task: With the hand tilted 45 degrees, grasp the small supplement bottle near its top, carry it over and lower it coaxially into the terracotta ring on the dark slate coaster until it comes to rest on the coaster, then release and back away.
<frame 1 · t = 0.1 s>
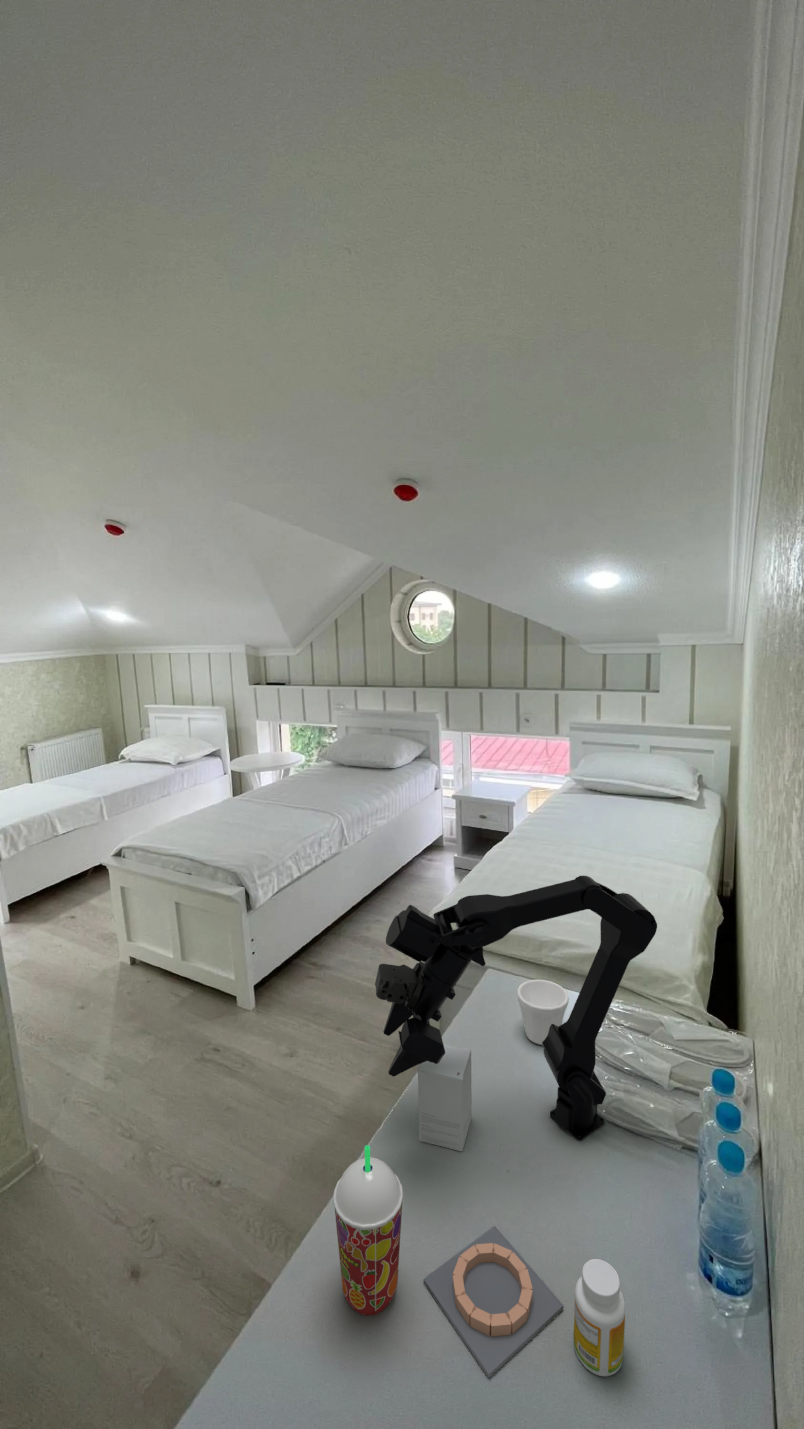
hand: (388, 1053, 96), 15 cm above the table, tool tilted 35°, fingers open, 9 cm apart
supplement bottle: (597, 1351, 69), on the table
smoothie: (370, 1292, 76), on the table
cup: (541, 1037, 122), on the table
supplement box: (445, 1130, 100), on the table
ring seat: (492, 1296, 75), on the table
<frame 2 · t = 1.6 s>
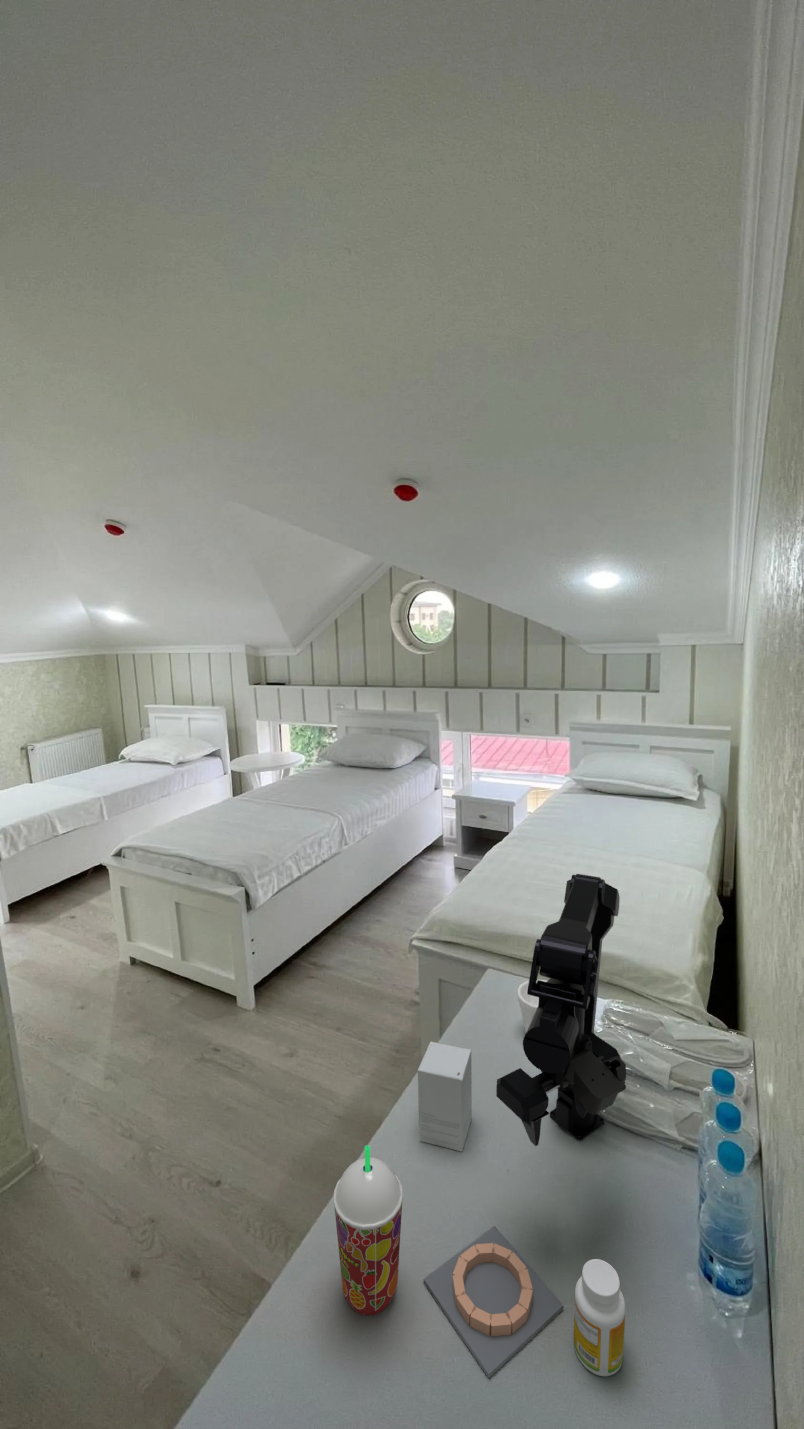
hand: (558, 1129, 85), 12 cm above the table, tool pointing down, fingers open, 9 cm apart
nothing on the table moved.
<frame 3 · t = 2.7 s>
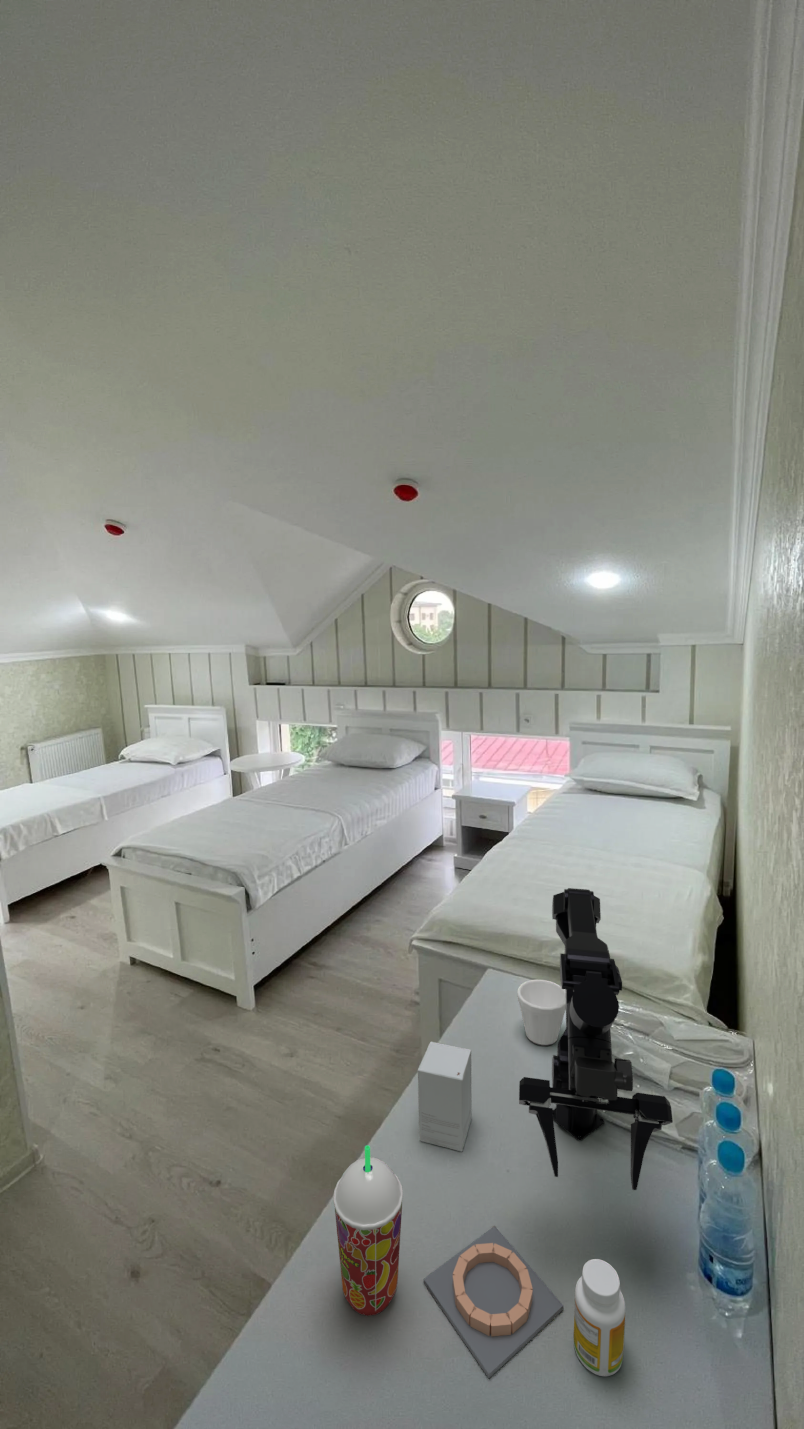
hand: (594, 1183, 75), 13 cm above the table, tool tilted 45°, fingers open, 9 cm apart
nothing on the table moved.
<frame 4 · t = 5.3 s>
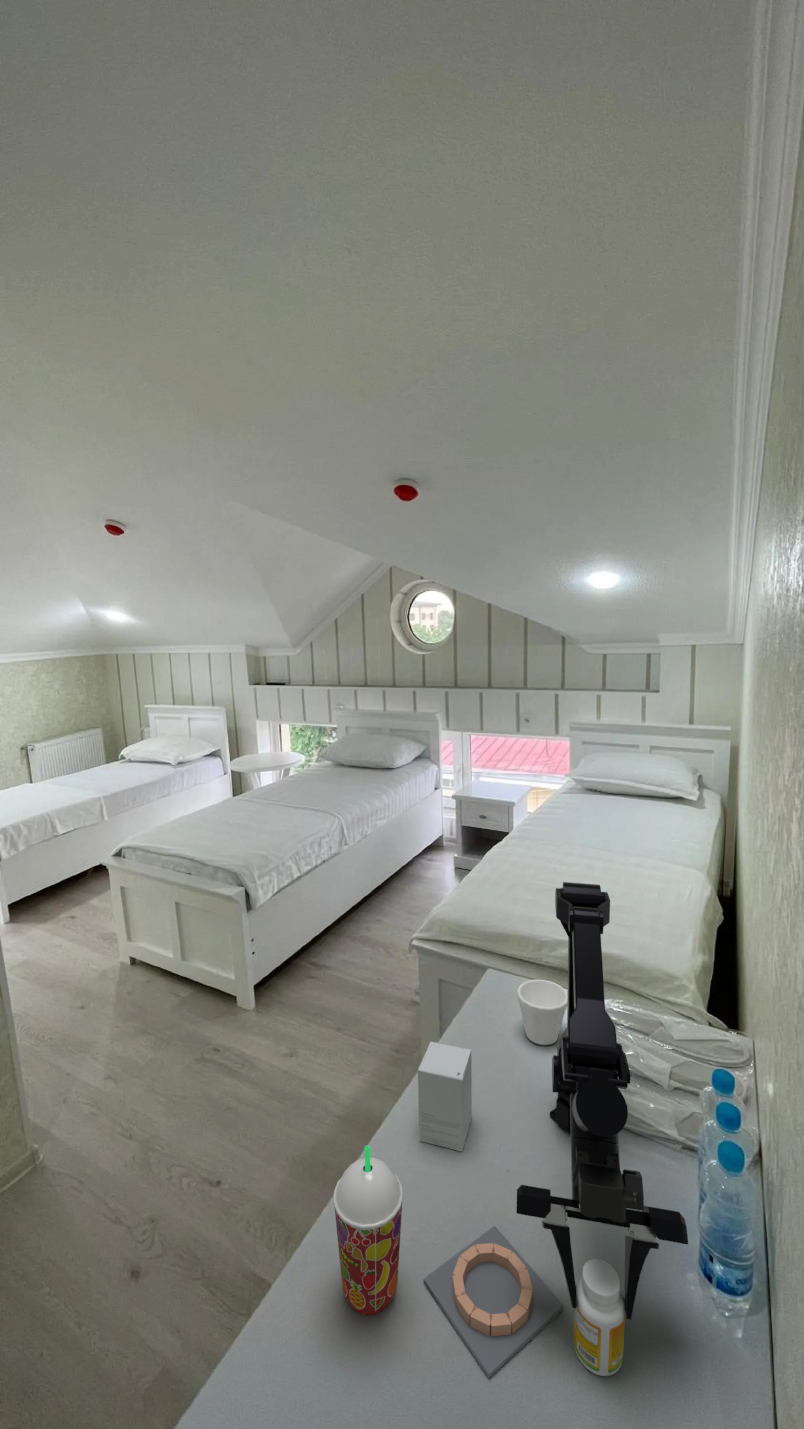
hand: (601, 1313, 67), 7 cm above the table, tool tilted 45°, fingers closed on supplement bottle, 5 cm apart
supplement bottle: (597, 1351, 69), on the table, touching gripper
everything else where it was.
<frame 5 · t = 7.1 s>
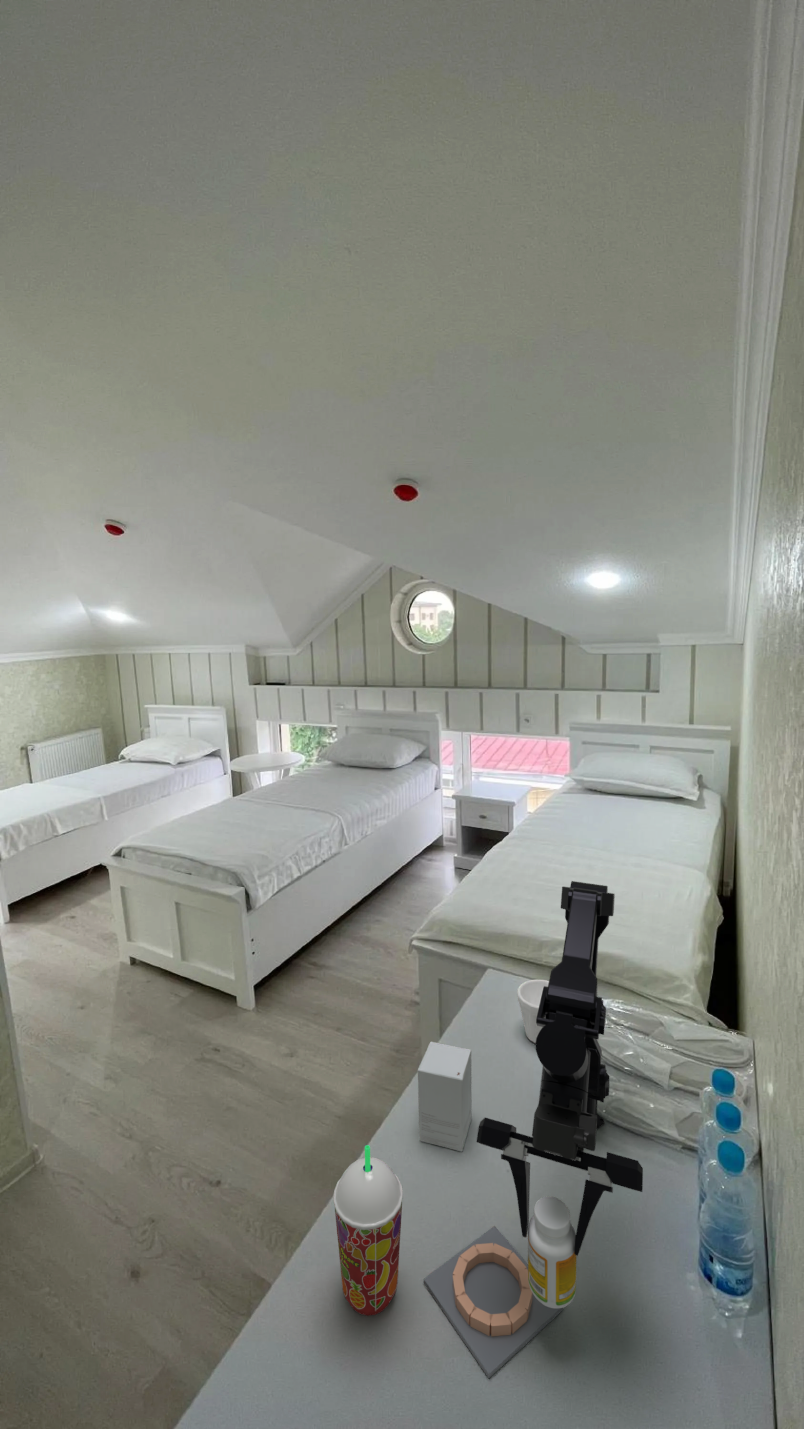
hand: (549, 1246, 68), 13 cm above the table, tool tilted 45°, fingers closed on supplement bottle, 5 cm apart
supplement bottle: (551, 1286, 71), point 6 cm above the table, touching gripper
everything else where it was.
when the fingers open (8 cm above the table, at t = 9.2 s): supplement bottle stays where it is, resting on ring seat.
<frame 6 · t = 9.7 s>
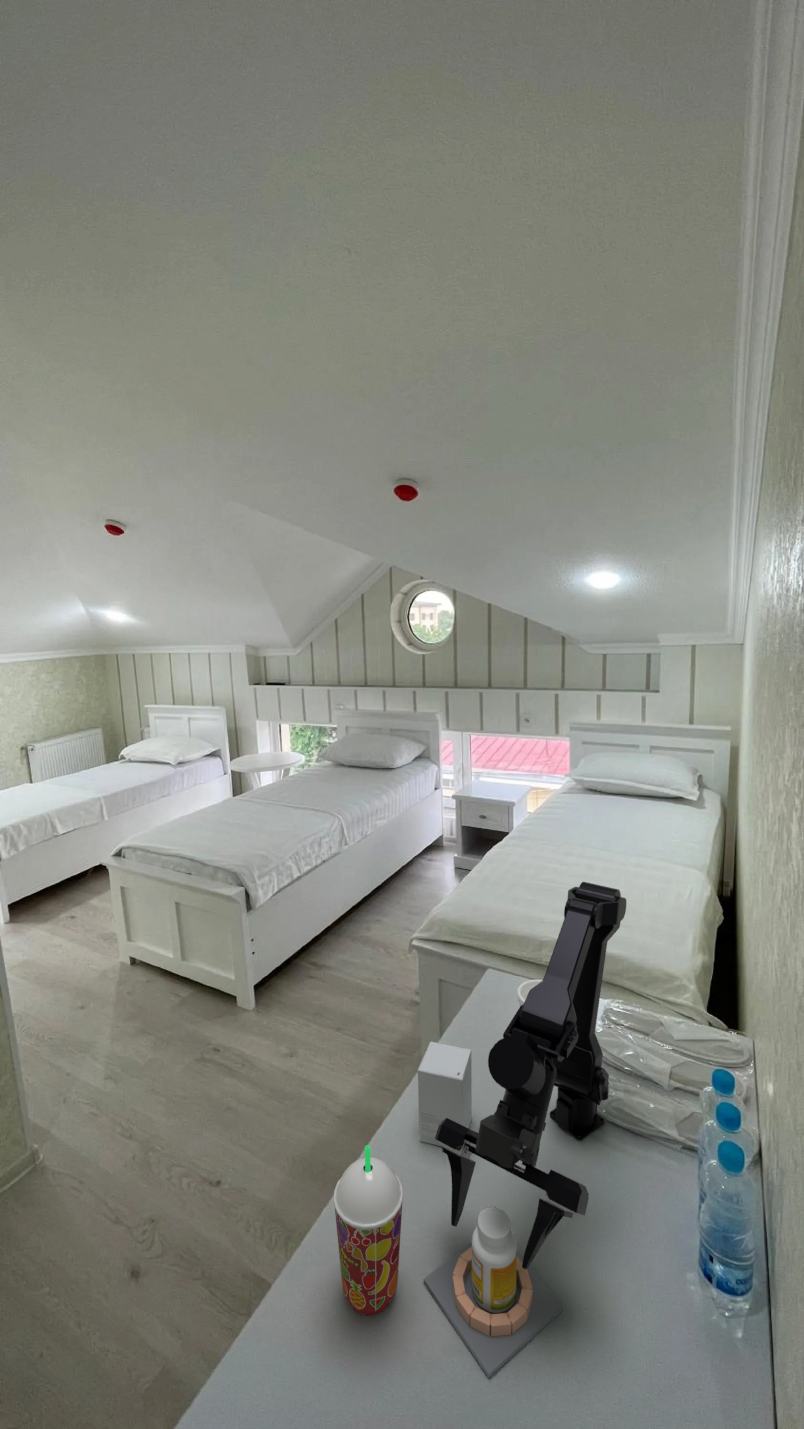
hand: (487, 1246, 73), 8 cm above the table, tool tilted 45°, fingers open, 9 cm apart
supplement bottle: (493, 1292, 75), resting on ring seat
everything else where it was.
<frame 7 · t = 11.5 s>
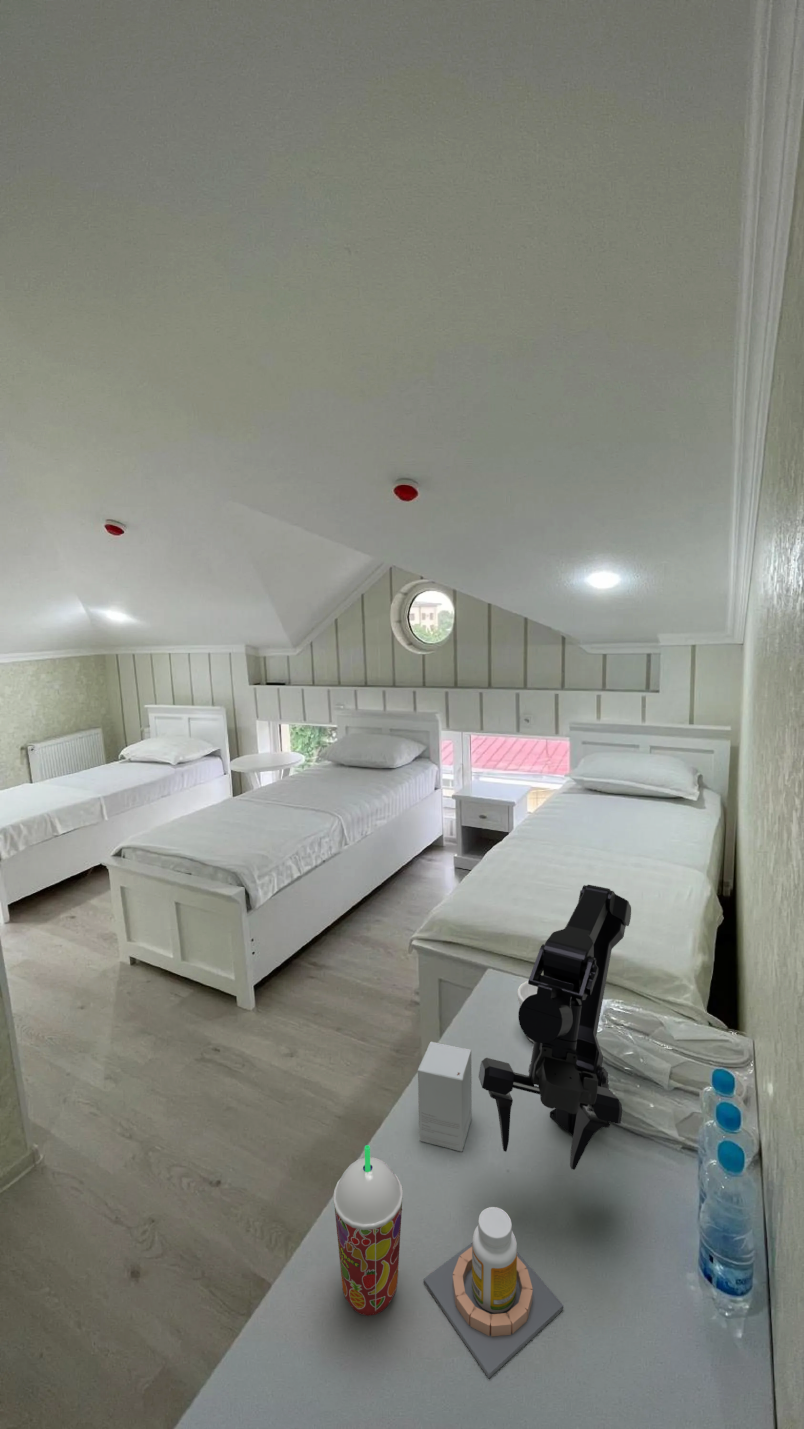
hand: (538, 1159, 82), 10 cm above the table, tool tilted 25°, fingers open, 9 cm apart
nothing on the table moved.
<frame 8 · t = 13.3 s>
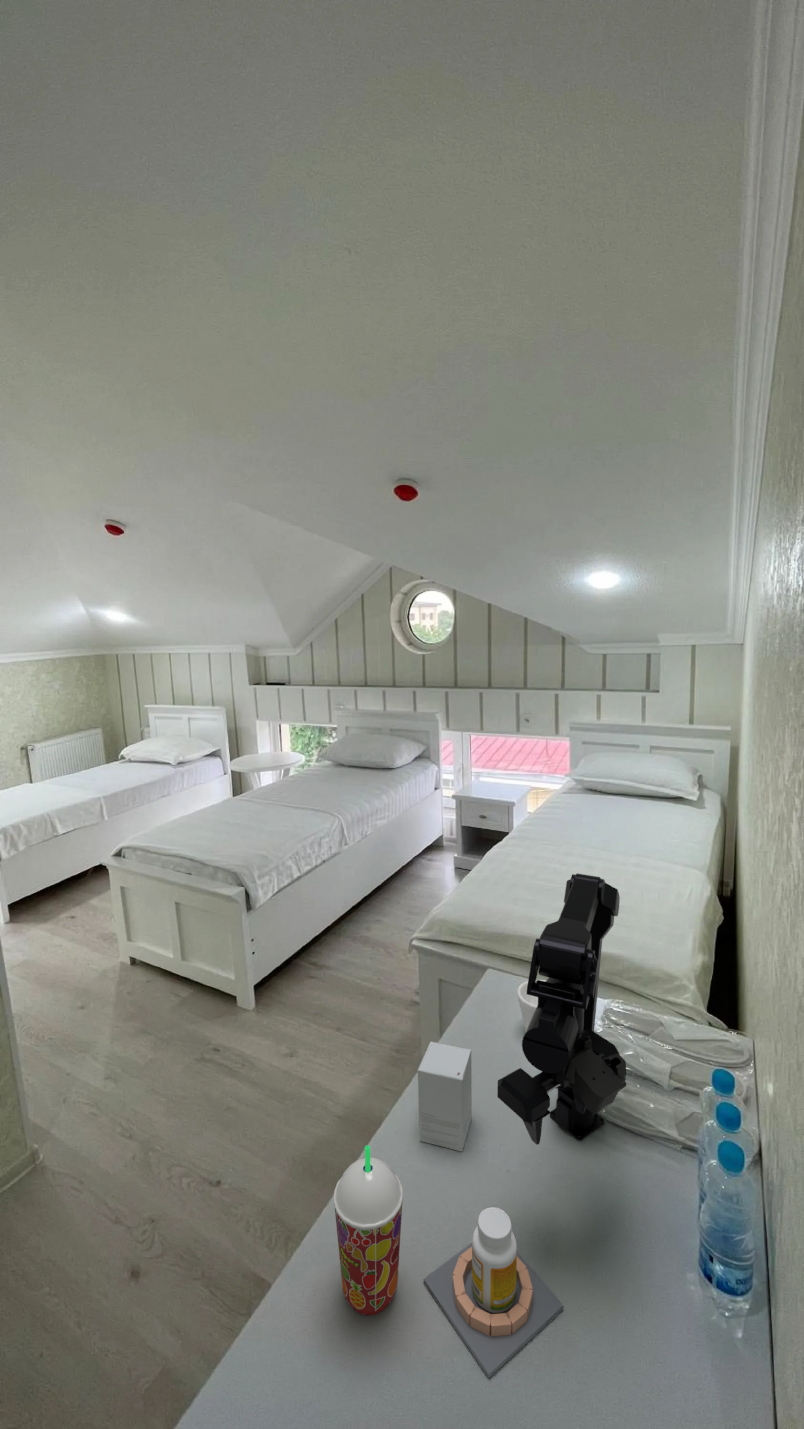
hand: (558, 1126, 85), 12 cm above the table, tool pointing down, fingers open, 9 cm apart
nothing on the table moved.
at the end: supplement bottle 0.2 cm off-centre on the ring seat, point 0.4 cm above the ring seat's base; supplement bottle tilted 0°; the gripper is holding nothing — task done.
